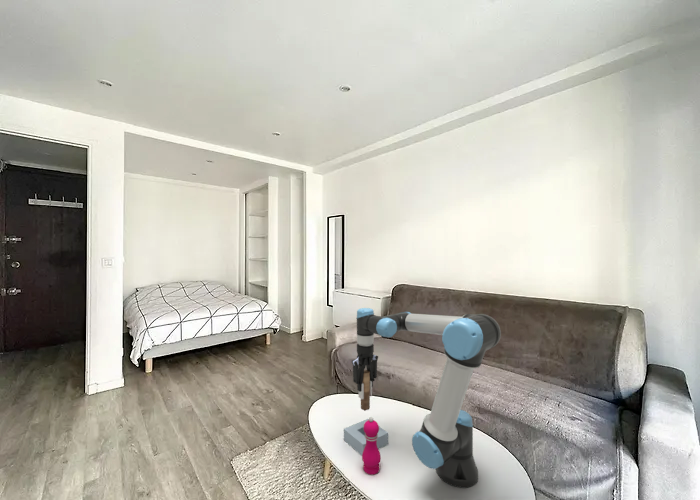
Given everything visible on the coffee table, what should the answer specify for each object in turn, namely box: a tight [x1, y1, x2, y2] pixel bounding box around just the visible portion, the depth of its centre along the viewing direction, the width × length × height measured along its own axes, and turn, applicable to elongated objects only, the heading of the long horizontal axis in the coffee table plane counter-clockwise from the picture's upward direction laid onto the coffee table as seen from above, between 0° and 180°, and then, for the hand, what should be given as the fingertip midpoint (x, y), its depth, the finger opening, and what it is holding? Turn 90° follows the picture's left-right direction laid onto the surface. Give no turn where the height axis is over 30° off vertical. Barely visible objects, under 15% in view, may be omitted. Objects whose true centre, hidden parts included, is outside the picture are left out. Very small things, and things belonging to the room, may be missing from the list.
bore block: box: [343, 418, 389, 456], centre depth 135 cm, size 14×14×5 cm
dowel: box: [360, 369, 371, 412], centre depth 135 cm, size 4×4×17 cm
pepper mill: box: [361, 416, 382, 476], centre depth 118 cm, size 7×7×20 cm
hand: (365, 396), depth 135 cm, fingers closed on dowel, 4 cm apart
